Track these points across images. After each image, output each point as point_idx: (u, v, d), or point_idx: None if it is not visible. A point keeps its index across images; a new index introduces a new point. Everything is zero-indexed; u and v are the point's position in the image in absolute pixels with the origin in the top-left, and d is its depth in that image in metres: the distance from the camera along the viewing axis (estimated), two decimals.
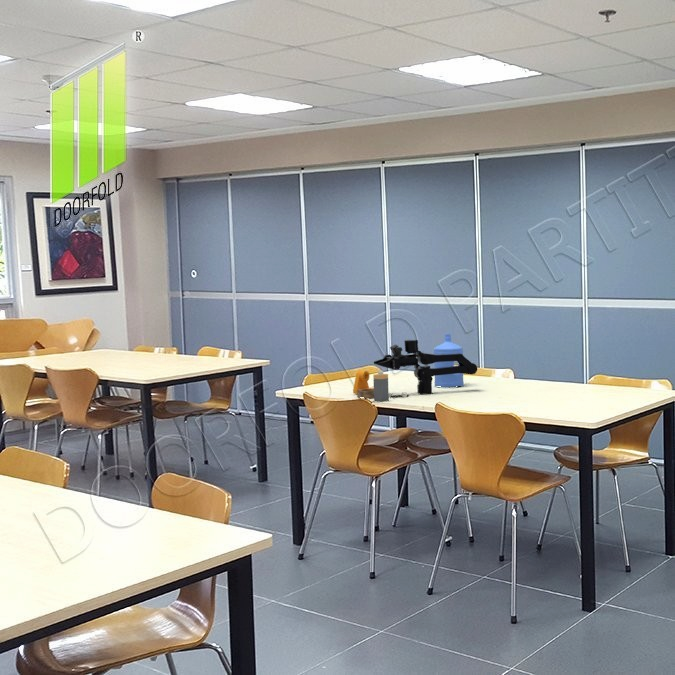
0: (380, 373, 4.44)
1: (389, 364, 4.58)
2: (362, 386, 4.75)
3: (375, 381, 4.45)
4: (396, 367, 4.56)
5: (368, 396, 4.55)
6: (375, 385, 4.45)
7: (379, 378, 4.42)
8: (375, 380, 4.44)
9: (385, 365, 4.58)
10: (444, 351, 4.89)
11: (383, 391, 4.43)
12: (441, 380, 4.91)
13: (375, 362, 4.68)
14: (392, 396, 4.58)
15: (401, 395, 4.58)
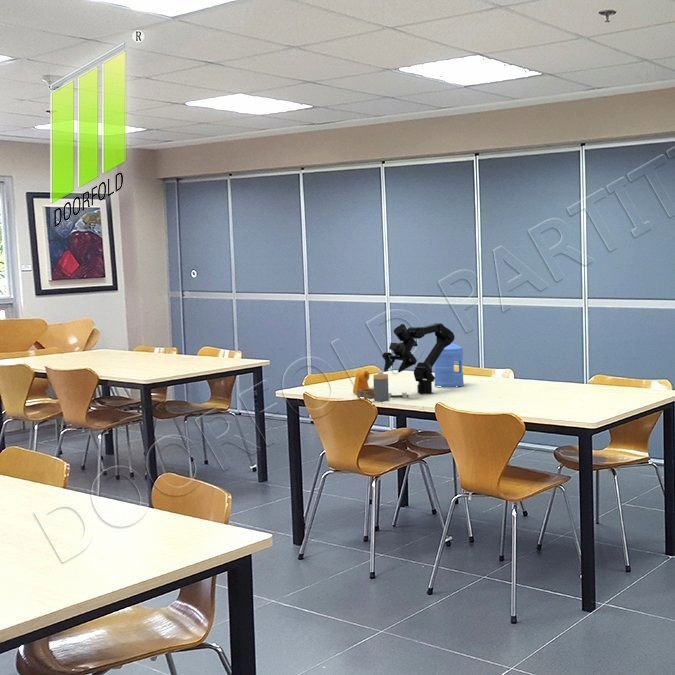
0: (380, 373, 4.44)
1: (406, 364, 4.49)
2: (362, 386, 4.75)
3: (375, 381, 4.45)
4: (415, 362, 4.49)
5: (368, 396, 4.55)
6: (375, 385, 4.45)
7: (379, 378, 4.42)
8: (375, 380, 4.44)
9: (404, 367, 4.49)
10: (444, 351, 4.89)
11: (383, 391, 4.43)
12: (441, 380, 4.91)
13: (385, 369, 4.54)
14: (392, 396, 4.58)
15: (401, 395, 4.58)
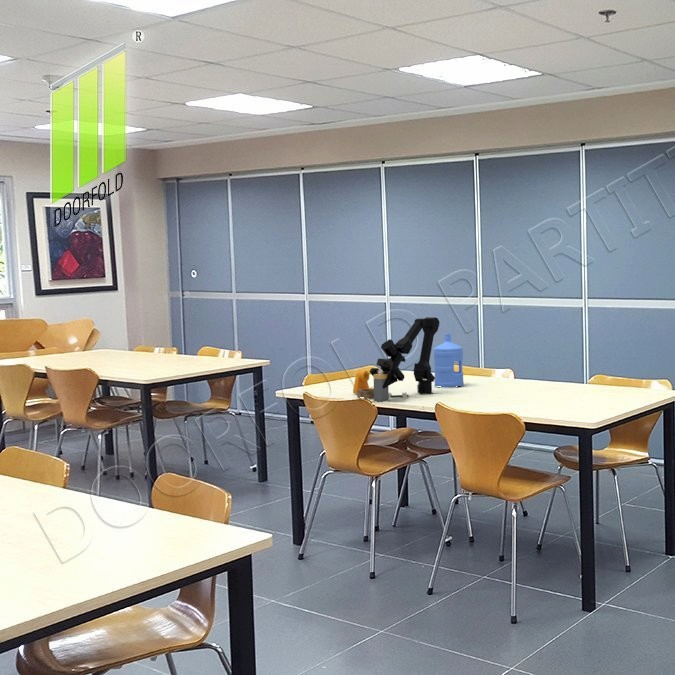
0: (380, 373, 4.44)
1: (390, 380, 4.44)
2: (362, 386, 4.75)
3: (375, 381, 4.44)
4: (402, 378, 4.43)
5: (368, 396, 4.55)
6: (375, 385, 4.45)
7: (379, 378, 4.42)
8: (375, 380, 4.44)
9: (389, 383, 4.44)
10: (443, 351, 4.89)
11: (383, 391, 4.43)
12: (441, 380, 4.91)
13: None
14: (392, 396, 4.58)
15: (401, 395, 4.58)
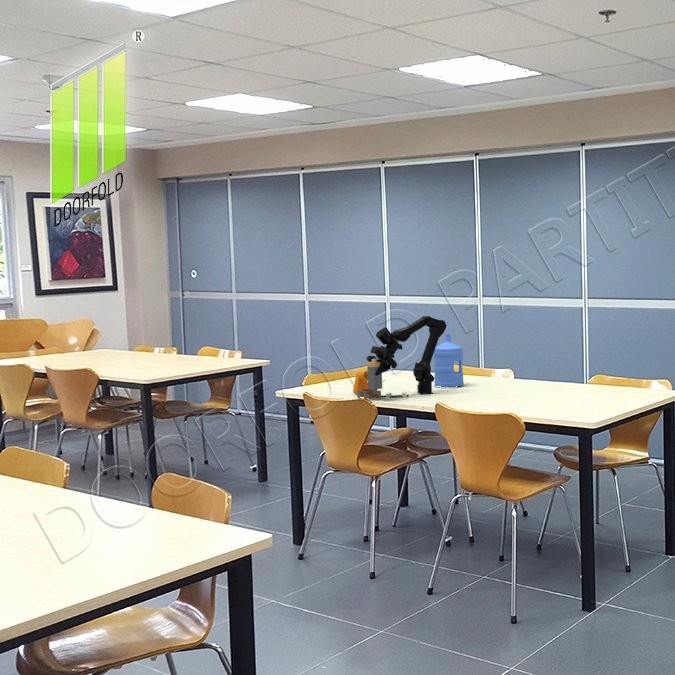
0: (373, 361, 4.49)
1: (383, 367, 4.49)
2: (362, 386, 4.75)
3: (368, 369, 4.50)
4: (395, 366, 4.46)
5: (368, 396, 4.55)
6: (368, 373, 4.50)
7: (372, 366, 4.48)
8: (368, 368, 4.50)
9: (381, 371, 4.48)
10: (443, 351, 4.89)
11: (375, 379, 4.48)
12: (441, 380, 4.91)
13: None
14: (392, 396, 4.58)
15: (401, 395, 4.58)
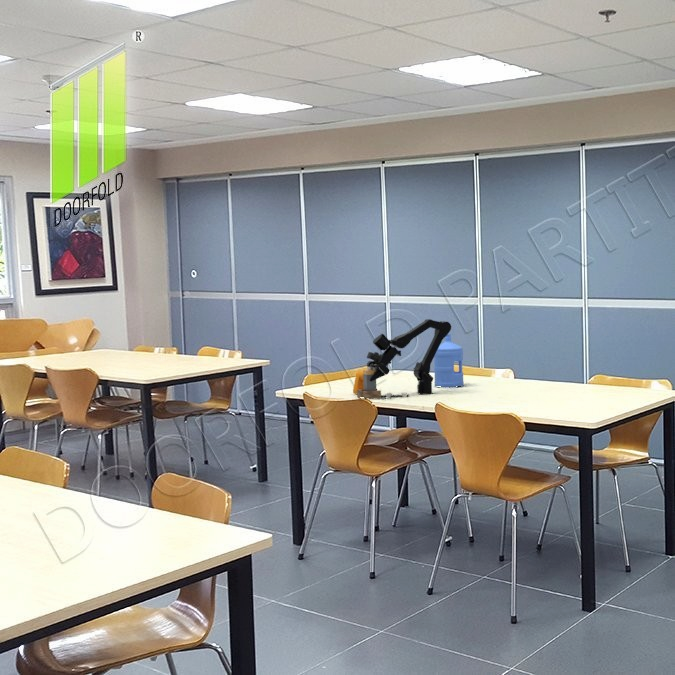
0: (368, 369, 4.59)
1: (378, 373, 4.55)
2: (362, 386, 4.75)
3: (364, 376, 4.60)
4: (386, 372, 4.52)
5: (368, 396, 4.55)
6: (364, 380, 4.60)
7: (365, 374, 4.57)
8: (364, 375, 4.60)
9: (376, 377, 4.55)
10: (443, 351, 4.89)
11: (369, 387, 4.57)
12: (441, 380, 4.91)
13: None
14: (392, 396, 4.58)
15: (401, 395, 4.58)
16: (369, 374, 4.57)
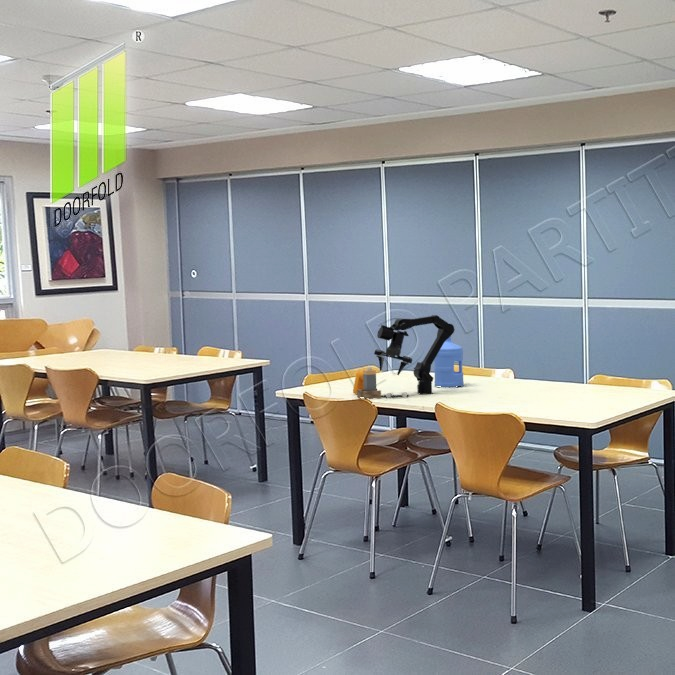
0: (368, 369, 4.59)
1: None
2: (362, 386, 4.75)
3: (364, 376, 4.60)
4: (411, 362, 4.62)
5: (368, 396, 4.55)
6: (364, 380, 4.60)
7: (365, 374, 4.57)
8: (364, 375, 4.60)
9: None
10: (444, 351, 4.89)
11: (369, 387, 4.57)
12: (441, 380, 4.91)
13: (381, 369, 4.64)
14: (392, 396, 4.58)
15: (401, 395, 4.58)
16: (369, 374, 4.57)
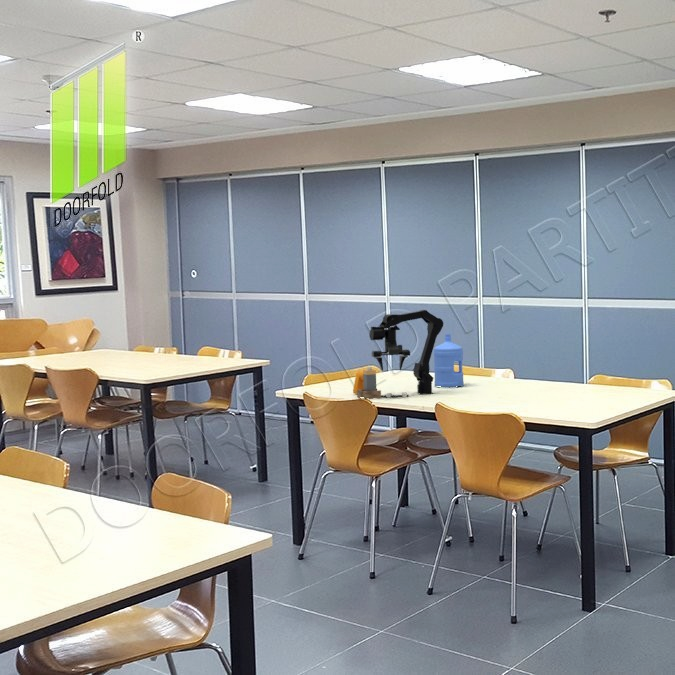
0: (368, 369, 4.59)
1: None
2: (362, 386, 4.75)
3: (364, 376, 4.60)
4: None
5: (368, 396, 4.55)
6: (364, 380, 4.60)
7: (365, 374, 4.57)
8: (364, 375, 4.60)
9: None
10: (444, 351, 4.89)
11: (369, 387, 4.57)
12: (441, 380, 4.91)
13: (382, 369, 4.62)
14: (392, 396, 4.58)
15: (401, 395, 4.58)
16: (369, 374, 4.57)
